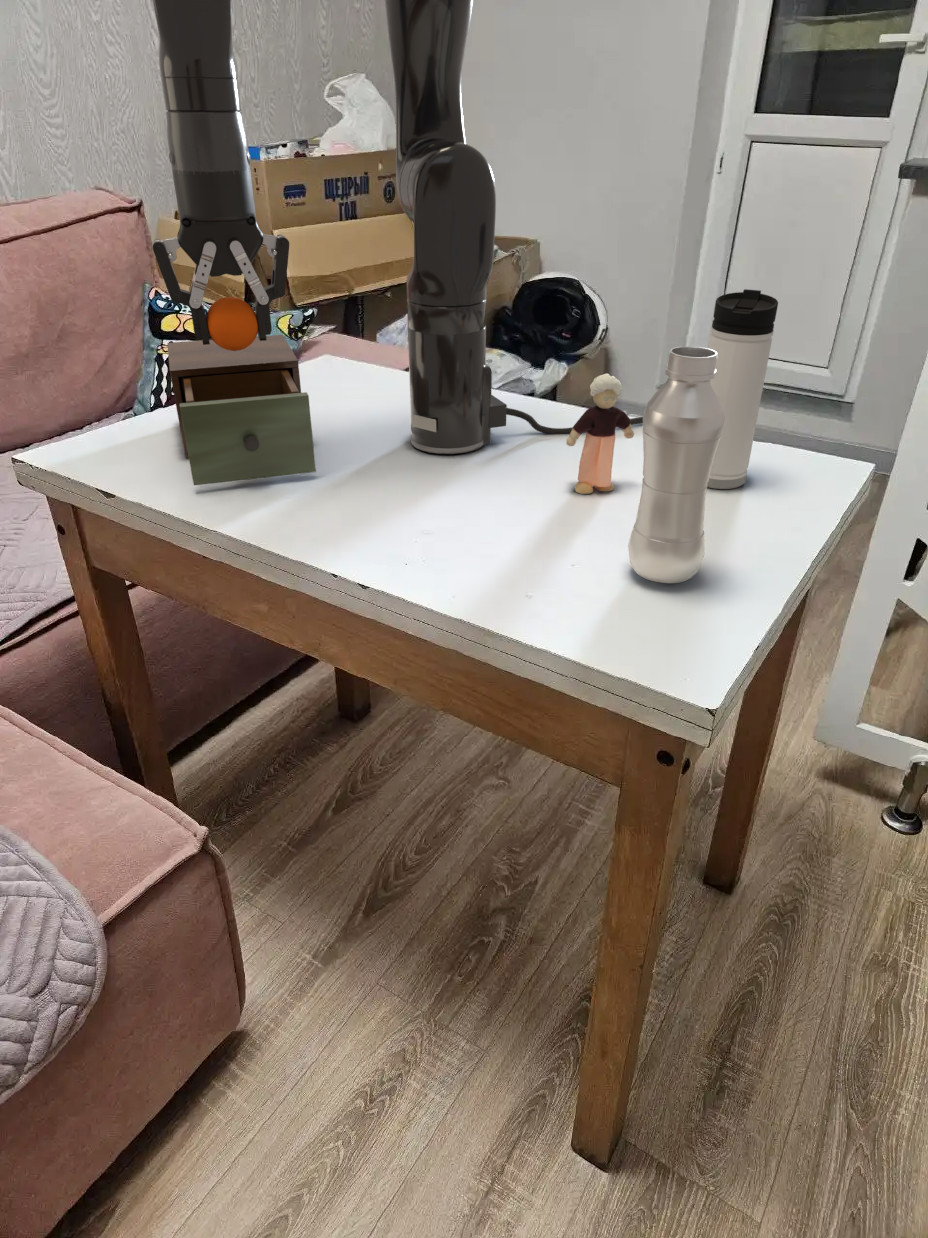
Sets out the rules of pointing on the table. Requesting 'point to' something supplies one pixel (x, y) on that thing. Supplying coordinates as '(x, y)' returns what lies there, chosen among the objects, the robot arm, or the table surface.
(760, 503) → the table surface
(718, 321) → the travel mug
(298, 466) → the drawer
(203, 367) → the cabinet
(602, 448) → the grandmother figurine
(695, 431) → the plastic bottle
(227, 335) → the ball
